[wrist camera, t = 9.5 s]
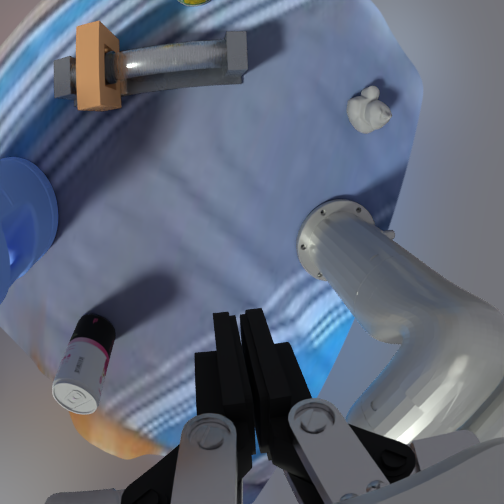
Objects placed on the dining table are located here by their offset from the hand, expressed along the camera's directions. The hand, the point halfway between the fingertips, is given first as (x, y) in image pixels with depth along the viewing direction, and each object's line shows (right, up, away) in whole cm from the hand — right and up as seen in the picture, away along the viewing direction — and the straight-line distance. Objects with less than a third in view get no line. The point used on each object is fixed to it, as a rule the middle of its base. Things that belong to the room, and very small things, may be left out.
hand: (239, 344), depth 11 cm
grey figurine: (+15, +23, +27) cm, 38 cm away
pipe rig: (-11, +25, +21) cm, 35 cm away
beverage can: (-24, -9, +34) cm, 43 cm away
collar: (-17, +25, +20) cm, 36 cm away
